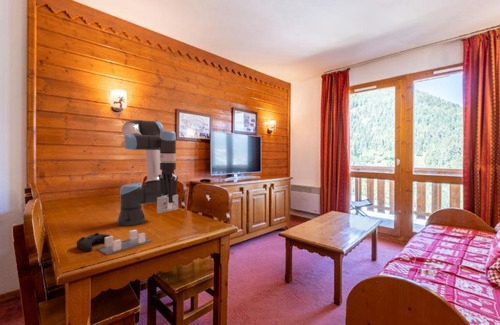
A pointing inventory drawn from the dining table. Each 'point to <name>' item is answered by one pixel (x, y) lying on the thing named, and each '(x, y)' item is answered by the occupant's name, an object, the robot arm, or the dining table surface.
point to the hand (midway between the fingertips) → (168, 208)
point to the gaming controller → (90, 241)
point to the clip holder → (123, 243)
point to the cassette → (163, 206)
